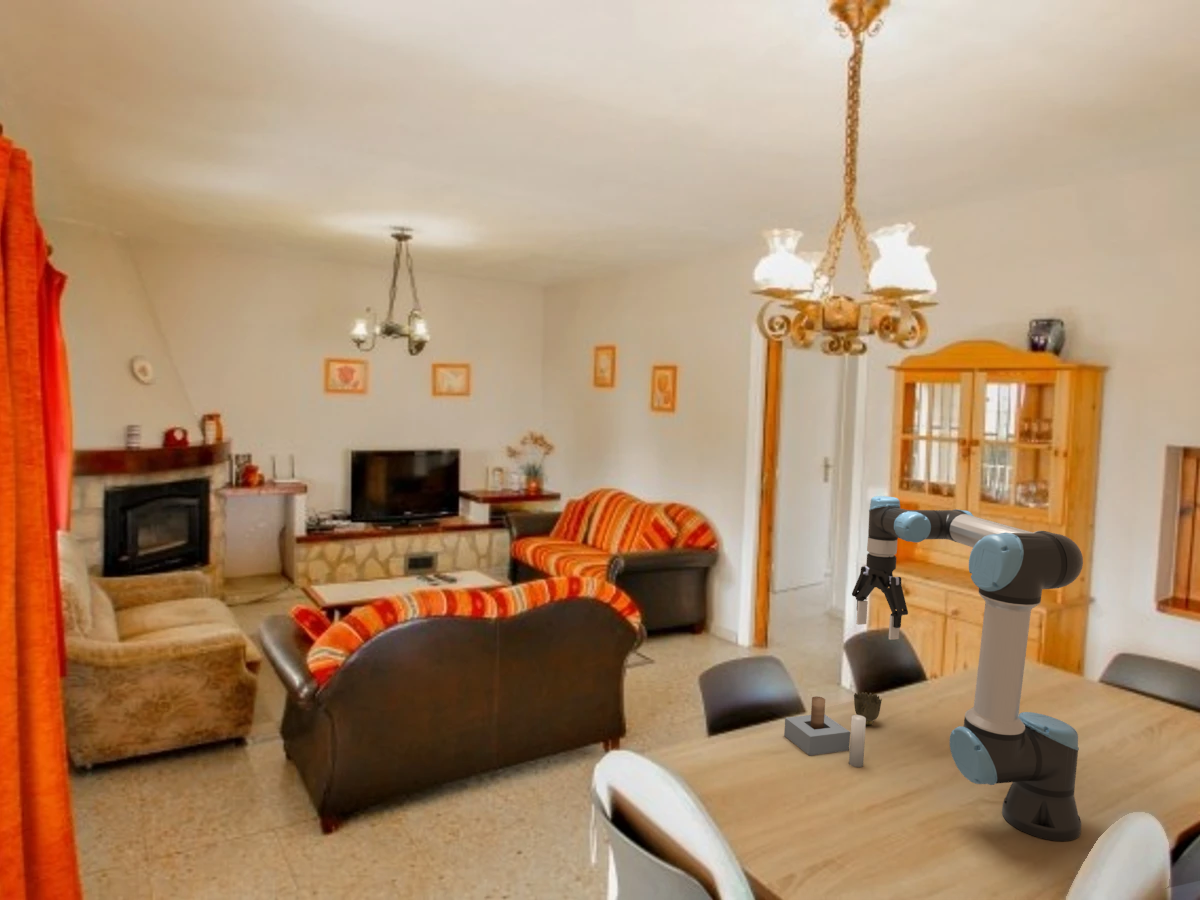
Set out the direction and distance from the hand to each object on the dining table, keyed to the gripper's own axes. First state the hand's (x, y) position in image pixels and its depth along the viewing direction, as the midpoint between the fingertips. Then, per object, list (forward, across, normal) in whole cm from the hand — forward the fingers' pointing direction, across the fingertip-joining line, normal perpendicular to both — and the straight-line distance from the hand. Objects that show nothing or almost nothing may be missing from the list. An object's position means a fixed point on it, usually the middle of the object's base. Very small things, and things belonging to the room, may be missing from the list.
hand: (877, 631), depth 215 cm
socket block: (+29, -1, +18) cm, 34 cm away
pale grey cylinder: (+29, -14, +15) cm, 35 cm away
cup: (+29, +6, -3) cm, 30 cm away
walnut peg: (+29, -1, +18) cm, 34 cm away
